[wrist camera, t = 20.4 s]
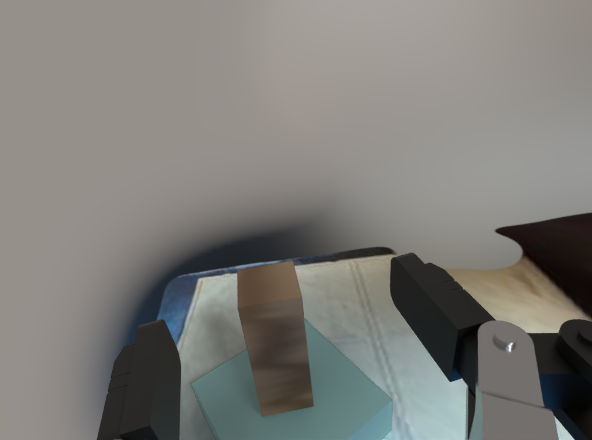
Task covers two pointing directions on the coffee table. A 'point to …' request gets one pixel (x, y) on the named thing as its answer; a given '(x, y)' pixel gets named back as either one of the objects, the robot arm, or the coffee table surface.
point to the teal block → (303, 422)
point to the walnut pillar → (275, 336)
